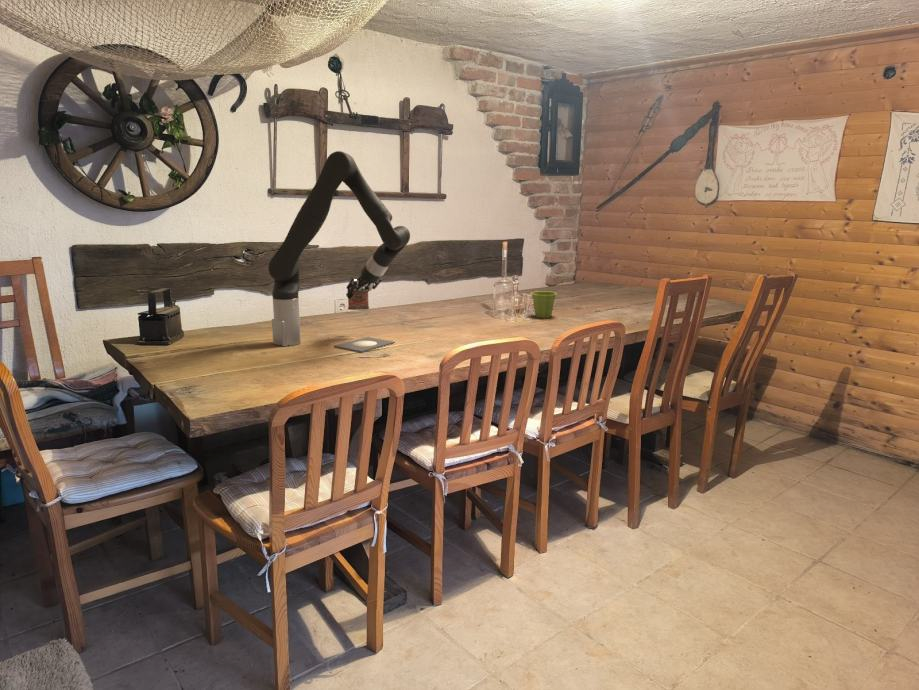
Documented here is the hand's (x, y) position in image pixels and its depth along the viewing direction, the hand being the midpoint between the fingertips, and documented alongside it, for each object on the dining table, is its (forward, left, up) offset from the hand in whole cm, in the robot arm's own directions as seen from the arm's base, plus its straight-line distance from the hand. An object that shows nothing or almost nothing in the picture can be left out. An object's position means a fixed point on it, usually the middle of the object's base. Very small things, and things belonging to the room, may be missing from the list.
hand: (355, 295), depth 243 cm
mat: (-8, -12, -16) cm, 22 cm away
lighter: (0, -2, -5) cm, 5 cm away
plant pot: (+82, -39, -17) cm, 92 cm away
